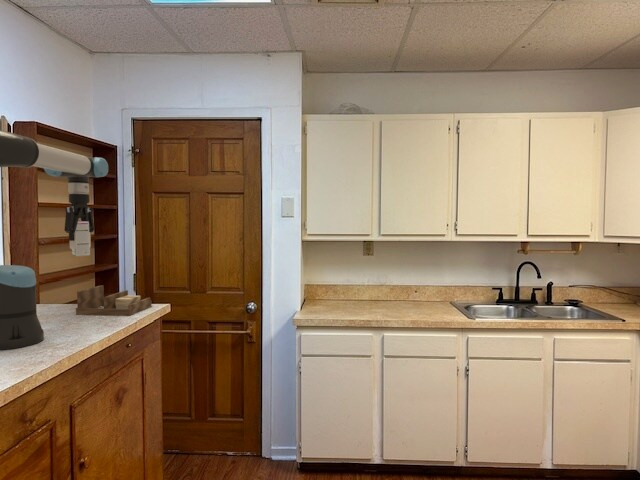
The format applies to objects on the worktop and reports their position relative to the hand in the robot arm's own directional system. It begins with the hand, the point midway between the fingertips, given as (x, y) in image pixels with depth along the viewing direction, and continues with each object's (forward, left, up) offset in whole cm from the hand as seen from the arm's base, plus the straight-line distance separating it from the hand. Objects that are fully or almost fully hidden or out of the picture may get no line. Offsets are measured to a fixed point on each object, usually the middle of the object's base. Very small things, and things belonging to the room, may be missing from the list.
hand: (80, 247), depth 176 cm
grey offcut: (-3, -22, -26) cm, 35 cm away
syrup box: (0, 0, -3) cm, 3 cm away
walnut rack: (-3, -17, -26) cm, 31 cm away
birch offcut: (-3, -22, -23) cm, 32 cm away
